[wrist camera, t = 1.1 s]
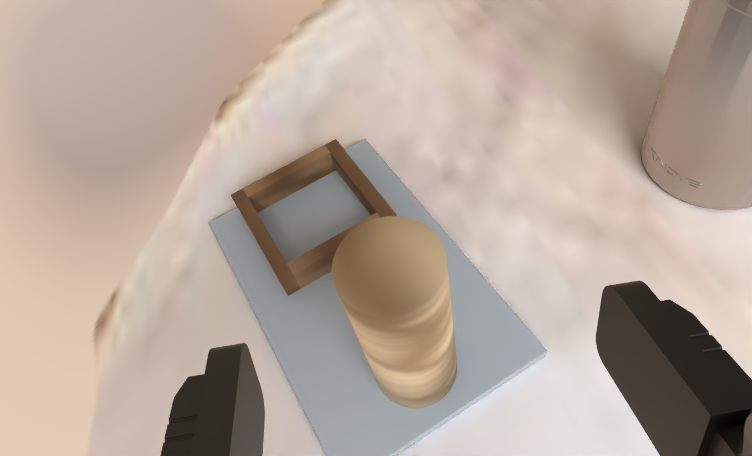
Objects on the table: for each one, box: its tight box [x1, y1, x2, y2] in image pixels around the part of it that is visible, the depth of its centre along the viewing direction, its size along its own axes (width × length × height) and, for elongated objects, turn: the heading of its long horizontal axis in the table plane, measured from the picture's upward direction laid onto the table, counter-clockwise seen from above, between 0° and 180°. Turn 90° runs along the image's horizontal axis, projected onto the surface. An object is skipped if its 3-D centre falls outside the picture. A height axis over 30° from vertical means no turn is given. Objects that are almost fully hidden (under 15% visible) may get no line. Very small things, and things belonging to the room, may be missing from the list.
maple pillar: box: [332, 216, 457, 408], centre depth 29 cm, size 5×5×12 cm
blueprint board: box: [209, 139, 547, 456], centre depth 38 cm, size 14×22×1 cm, turn 30°
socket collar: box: [231, 139, 397, 296], centre depth 41 cm, size 9×9×2 cm
